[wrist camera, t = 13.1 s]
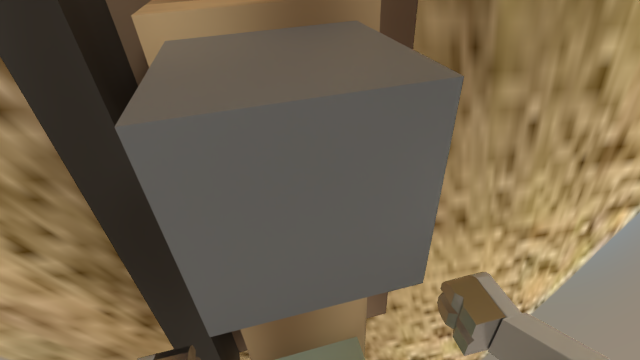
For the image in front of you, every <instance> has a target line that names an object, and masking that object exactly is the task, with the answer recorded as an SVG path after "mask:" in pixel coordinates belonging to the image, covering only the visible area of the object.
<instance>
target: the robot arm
mask: <svg viewBox="0 0 640 360" xmlns="http://www.w3.org/2000/svg"><path fill="white" fill-rule="evenodd" d="M441 290H442V291H443V293H442V294H441V295H440V296H439V297H438V302H437V303H438V309H439V312H440V315H441V317H442V319H443V321H444V322H445V324H446V325H448V326H449V327H451V328H452V329H453V338H454V339H455V341H456V343H457V344H458V346H459V348H460V350H461V351H462V353H463V355H464V356H465V355H469V354H473V353H477V352H481V351H485V350H488V352H490V353H491V354H492V355H494V356H495V357H496V358H498V359H499V360H610V359H609V358H608V357H606V356H604V355H602V354H600V353H599V352H597V351H595V350H593V349H591V348H589V347H588V346H586V345H584V344H582V343H580V342H579V341H576V340H575V339H573V338H571V337H569V336H568V335H566V334H564V333H562V332H560V331H558V330H557V329H555V328H553V327H551V326H549V325H547V324H546V323H544V322H542V321H540V320H538V319H537V318H535V317H533V316H531V315H529V314H528V313H521V312H520V311H519V310H518V308H517V307H516V306H515V305H514V303H513V302H512V301H511V300H510V299H509V297H508V296H507V295H506V294H505V292H504V291H503V290H502V289H501V288H500V286H499V285H498V284H497V283H496V281H495V280H494V279H493V278H492V277H491V275H490V274H488V273H487V272H480V273H476V274H472V275H467V276H464V277H460V278H456V279H453V280H449V281H445V282H443V283H442V285H441ZM137 360H201V359H200V358H199V357H196V350H195V348H194V347H193V345H190V346H186V347H182V348H178V349H174V350H170V351H166V352H162V353H156V354H153V355H149V356H145V357H141V358H137Z"/></svg>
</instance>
